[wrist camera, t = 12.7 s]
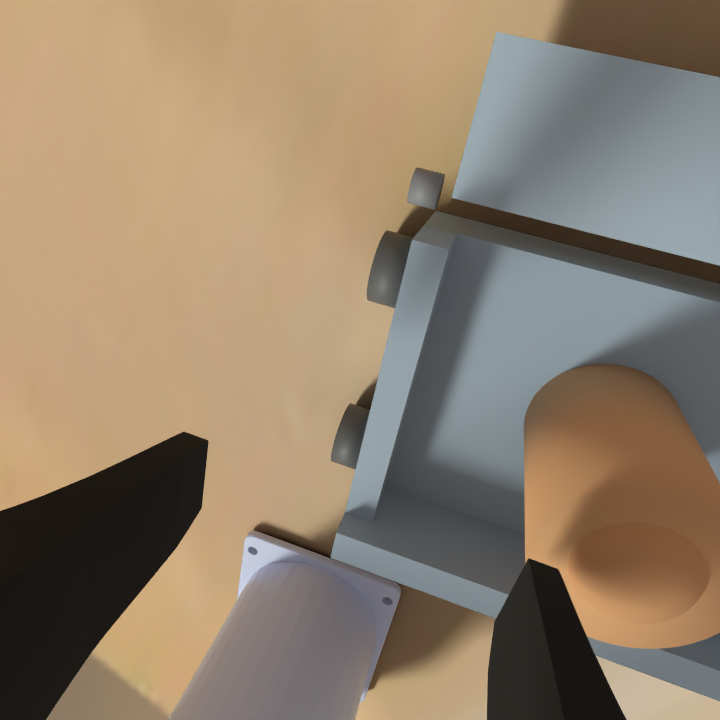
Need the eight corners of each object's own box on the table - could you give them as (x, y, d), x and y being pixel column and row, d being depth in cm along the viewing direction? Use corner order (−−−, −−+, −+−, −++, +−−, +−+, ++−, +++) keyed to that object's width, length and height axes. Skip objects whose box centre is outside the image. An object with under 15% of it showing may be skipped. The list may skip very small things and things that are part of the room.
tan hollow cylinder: (644, 506, 18) (707, 708, 12) (506, 464, 18) (498, 634, 12) (710, 388, 15) (829, 562, 10) (551, 345, 16) (569, 482, 10)
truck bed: (742, 589, 21) (809, 734, 16) (341, 454, 23) (295, 544, 18) (978, 293, 15) (1195, 381, 10) (409, 154, 17) (366, 172, 13)
